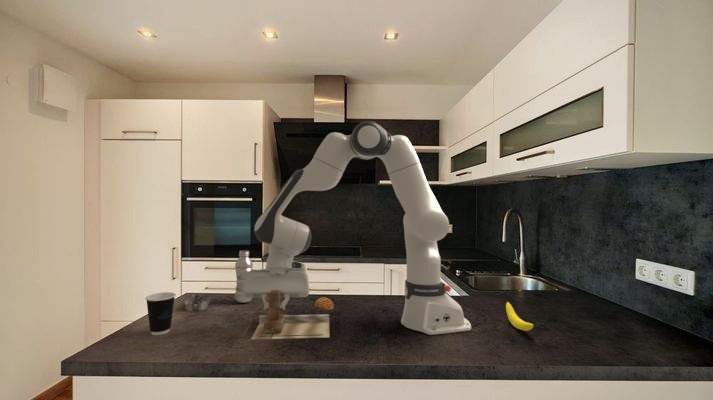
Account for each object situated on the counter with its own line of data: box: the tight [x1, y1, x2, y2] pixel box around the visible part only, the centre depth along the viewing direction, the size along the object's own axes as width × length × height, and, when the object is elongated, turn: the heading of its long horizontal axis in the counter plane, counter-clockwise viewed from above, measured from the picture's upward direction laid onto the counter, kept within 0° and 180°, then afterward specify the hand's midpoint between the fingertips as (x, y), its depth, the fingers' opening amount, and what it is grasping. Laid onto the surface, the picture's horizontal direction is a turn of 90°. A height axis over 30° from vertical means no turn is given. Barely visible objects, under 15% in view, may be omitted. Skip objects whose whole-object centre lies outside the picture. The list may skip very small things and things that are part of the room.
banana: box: [505, 300, 534, 332], centre depth 108 cm, size 3×19×6 cm, turn 178°
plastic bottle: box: [234, 249, 254, 304], centre depth 131 cm, size 6×7×20 cm
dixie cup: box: [145, 291, 176, 336], centre depth 101 cm, size 8×8×11 cm
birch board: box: [250, 313, 330, 340], centre depth 101 cm, size 22×13×4 cm, turn 95°
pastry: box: [314, 296, 335, 311], centre depth 123 cm, size 9×7×4 cm
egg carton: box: [184, 293, 212, 312], centre depth 125 cm, size 11×8×4 cm
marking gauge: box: [264, 290, 285, 333], centre depth 100 cm, size 5×8×11 cm, turn 5°
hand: (274, 309), depth 100 cm, fingers closed on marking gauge, 3 cm apart
